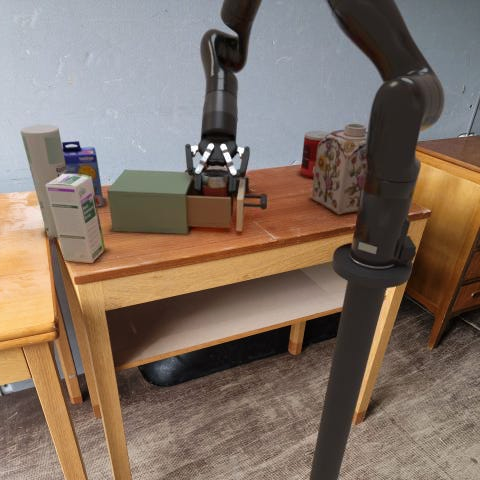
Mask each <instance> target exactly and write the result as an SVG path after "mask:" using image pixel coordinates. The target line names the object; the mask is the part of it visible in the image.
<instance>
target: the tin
mask: <svg viewBox="0 0 480 480" xmlns="http://www.w3.org/2000/svg"><path fill="white" fill-rule="evenodd" d="M201 175H202V183H201V184H202V196H207V197H230V196H229V176H230V174H229V172H228V171H225V170H221V169H209V170H205V171H203V172H202V174H201Z"/></svg>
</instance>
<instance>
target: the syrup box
mask: <svg viewBox="0 0 480 480" xmlns="http://www.w3.org/2000/svg"><path fill="white" fill-rule="evenodd" d="M45 186H46V190H47V194H48V198H49V202H50V206H51V210H52V214H53V218H54V222H55V226H56V229H57V233H58V237H59V238H58V241H59V245H60V249H61V253H62V257H63V261H64V260H65V261H68V262H75V263H85V264H93V263H94V262H95V260H96V259H98V258H99V256H100V255H101V254H103V253H104V251H105V250H106V245H105V241H104V235H103V231H102V224H101V219H100V215H99V209H98V208H99V207H97V203H96V198H95V193H94V188H93V183H92V178H91V176H88V175H82V174H62V175H61V176H59V177H58V178H56V179H54V180H53V181H51V182H50V183H47V184H46V185H45Z"/></svg>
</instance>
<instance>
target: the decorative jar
mask: <svg viewBox="0 0 480 480" xmlns="http://www.w3.org/2000/svg"><path fill="white" fill-rule="evenodd" d="M367 129H368V126H367V125H366V124H363V123H358V122H349V123H346V124H345V125H344V129H341V130H333V131H331V132H329V133H330V134H329V135H327V136H325V137H324V139H323V140H322V141H321V142H320V143H319V144H318V149H317V156H316V164H315V172H314V179H312V180H313V181H312V189H311V190H312V191H311V199H312V200H313V201H315V202H316V203H318V204H320V205H322V206H323V207H325V208H326V209H328V210H330V211H332V212H334V213H335V214H337V215H339V216H340V215H343V214H348V213H349V214H350V213H354V212H358V208H359V203H360V198H361V193H362V187H363V182H364V177H365V171H366V165H367V162H366V158H365V145H366V138H367Z"/></svg>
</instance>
